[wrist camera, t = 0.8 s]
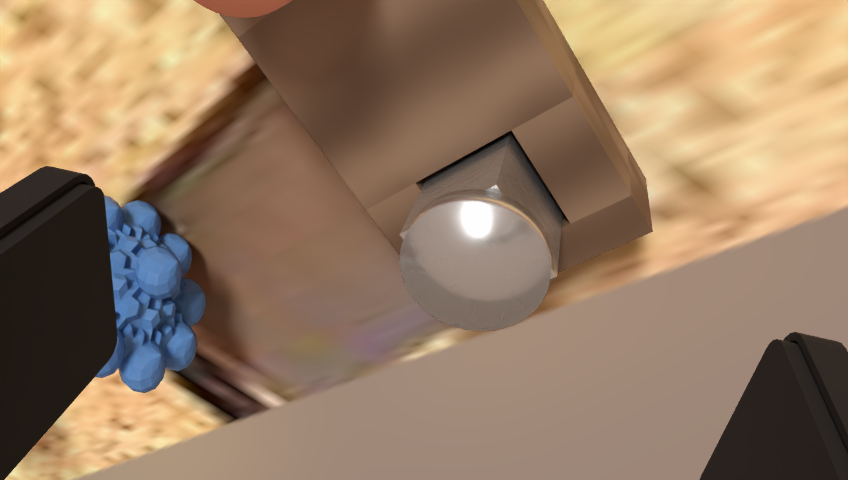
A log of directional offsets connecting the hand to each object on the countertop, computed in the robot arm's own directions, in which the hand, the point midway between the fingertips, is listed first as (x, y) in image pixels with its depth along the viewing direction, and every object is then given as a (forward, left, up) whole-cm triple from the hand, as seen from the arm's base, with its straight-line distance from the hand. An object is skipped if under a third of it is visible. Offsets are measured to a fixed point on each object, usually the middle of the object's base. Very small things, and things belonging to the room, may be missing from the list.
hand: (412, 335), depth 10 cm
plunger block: (+6, +3, -29) cm, 30 cm away
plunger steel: (+2, +10, -24) cm, 26 cm away
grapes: (+24, +16, -30) cm, 41 cm away
